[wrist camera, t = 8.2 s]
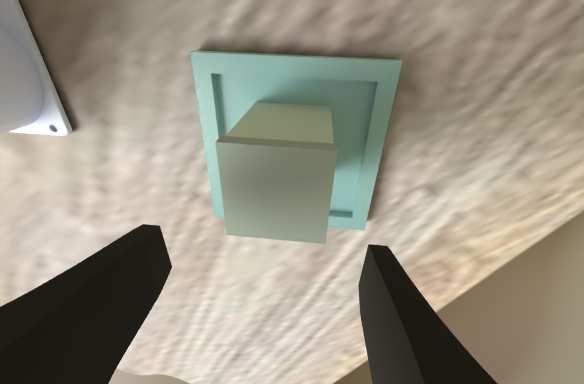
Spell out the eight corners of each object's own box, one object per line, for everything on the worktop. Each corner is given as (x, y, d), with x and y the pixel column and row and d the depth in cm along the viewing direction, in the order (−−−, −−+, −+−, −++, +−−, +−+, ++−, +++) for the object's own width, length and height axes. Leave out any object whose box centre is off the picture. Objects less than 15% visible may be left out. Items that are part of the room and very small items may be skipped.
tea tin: (257, 169, 18) (227, 234, 13) (254, 99, 16) (215, 141, 10) (324, 174, 18) (325, 244, 12) (332, 104, 15) (337, 150, 10)
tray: (219, 209, 21) (215, 217, 20) (197, 50, 15) (189, 51, 14) (362, 221, 20) (364, 230, 19) (397, 59, 14) (402, 61, 13)
